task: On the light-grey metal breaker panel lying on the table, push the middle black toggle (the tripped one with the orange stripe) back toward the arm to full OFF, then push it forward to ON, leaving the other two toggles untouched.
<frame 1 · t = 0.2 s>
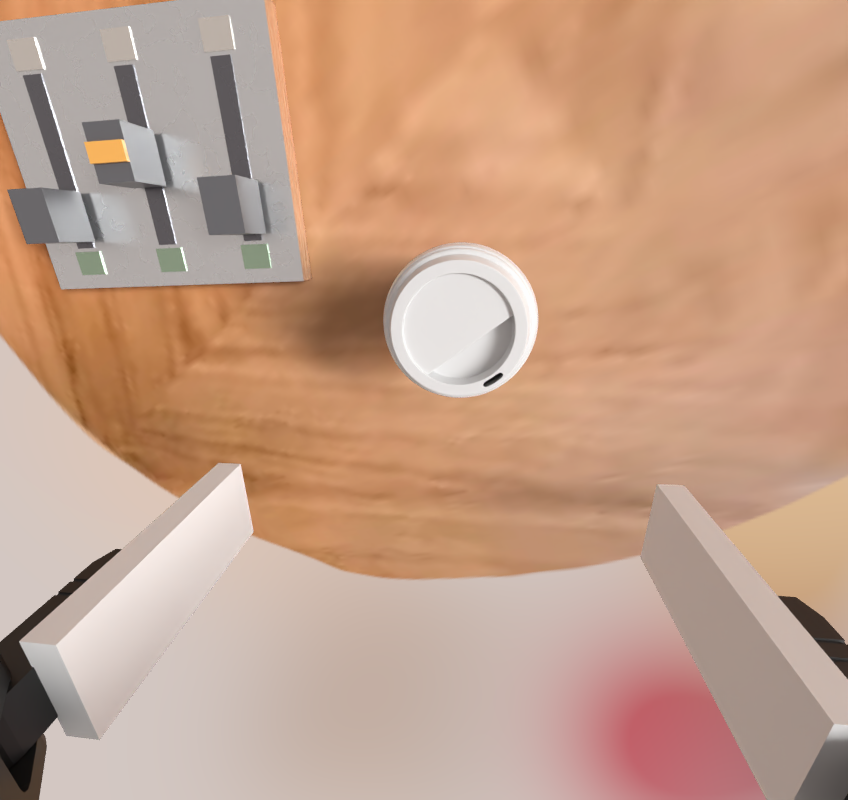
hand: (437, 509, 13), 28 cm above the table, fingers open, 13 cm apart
breaker 2: (125, 156, 33), point 4 cm above the table, slide at 0.0 cm
breaker 1: (233, 207, 33), point 4 cm above the table, slide at 4.0 cm
breaker 3: (54, 217, 35), point 4 cm above the table, slide at 4.0 cm
coffee cup: (463, 296, 38), on the table
panel: (164, 164, 37), on the table
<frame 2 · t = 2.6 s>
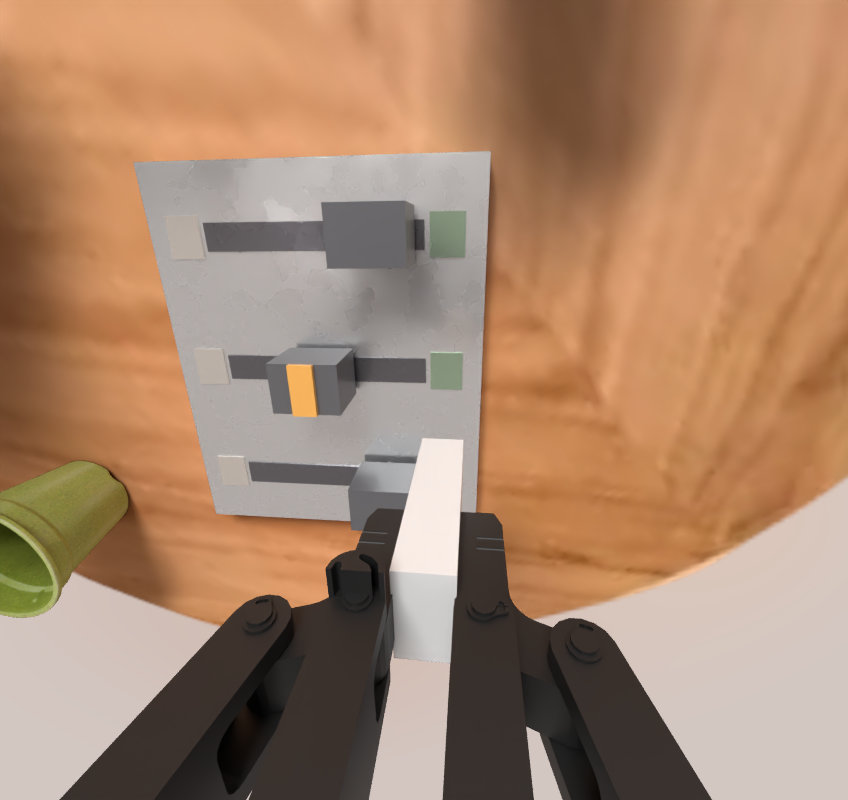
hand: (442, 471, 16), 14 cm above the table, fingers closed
breaker 2: (313, 380, 25), point 4 cm above the table, slide at 0.0 cm
breaker 1: (372, 235, 22), point 4 cm above the table, slide at 4.0 cm
breaker 3: (386, 495, 28), point 4 cm above the table, slide at 4.0 cm
plant pot: (97, 490, 36), on the table
panel: (335, 359, 29), on the table
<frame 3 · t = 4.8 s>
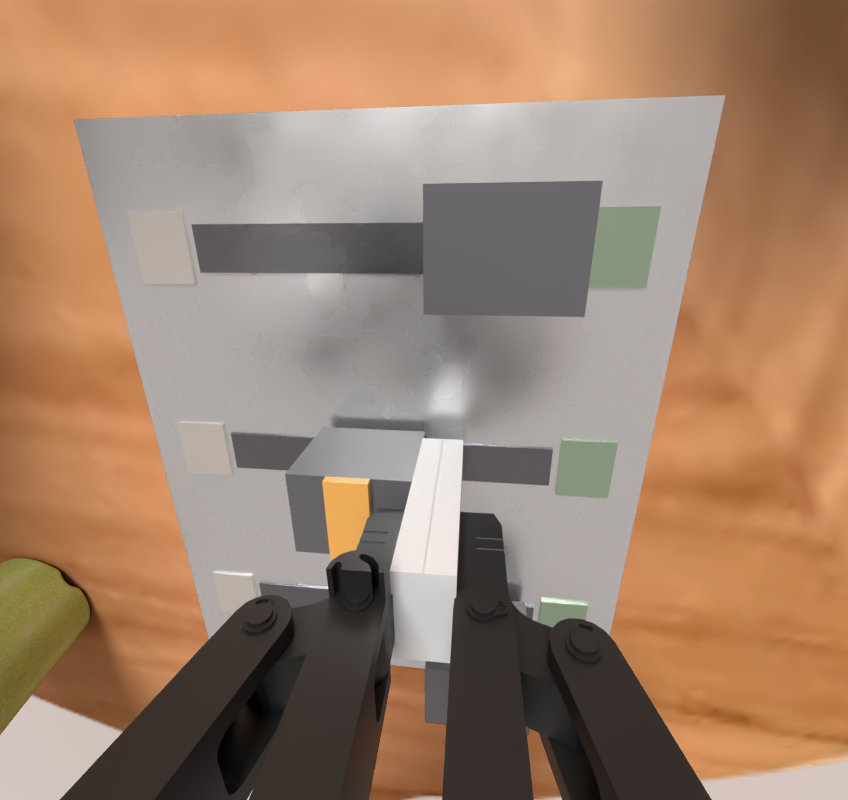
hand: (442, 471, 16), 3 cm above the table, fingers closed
breaker 2: (363, 490, 15), point 4 cm above the table, slide at -0.4 cm, touching gripper
breaker 1: (502, 250, 12), point 4 cm above the table, slide at 4.0 cm
breaker 3: (477, 659, 17), point 4 cm above the table, slide at 4.0 cm
plant pot: (48, 593, 26), on the table
panel: (395, 436, 19), on the table
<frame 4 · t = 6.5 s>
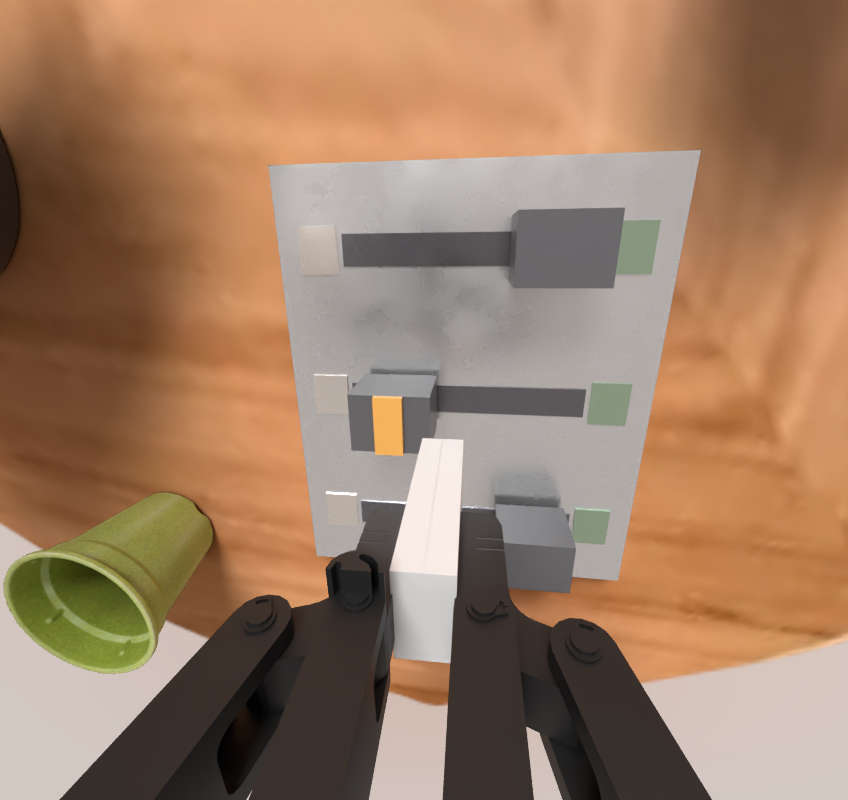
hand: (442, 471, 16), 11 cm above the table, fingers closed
breaker 2: (395, 412, 22), point 4 cm above the table, slide at -3.6 cm
breaker 1: (559, 249, 18), point 4 cm above the table, slide at 4.0 cm
breaker 3: (530, 546, 24), point 4 cm above the table, slide at 4.0 cm
plant pot: (179, 523, 33), on the table
panel: (466, 387, 26), on the table
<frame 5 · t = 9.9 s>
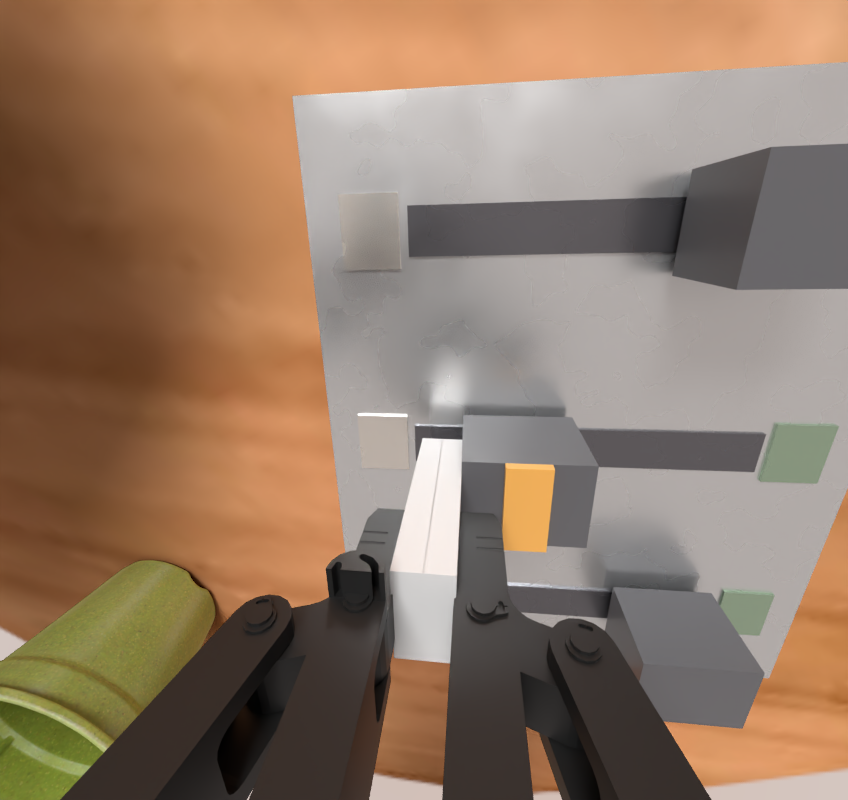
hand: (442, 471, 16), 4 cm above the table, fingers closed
breaker 2: (520, 478, 14), point 4 cm above the table, slide at -2.5 cm, touching gripper
breaker 1: (793, 221, 11), point 4 cm above the table, slide at 4.0 cm
breaker 3: (672, 652, 17), point 4 cm above the table, slide at 4.0 cm
plant pot: (170, 595, 25), on the table
panel: (568, 425, 18), on the table
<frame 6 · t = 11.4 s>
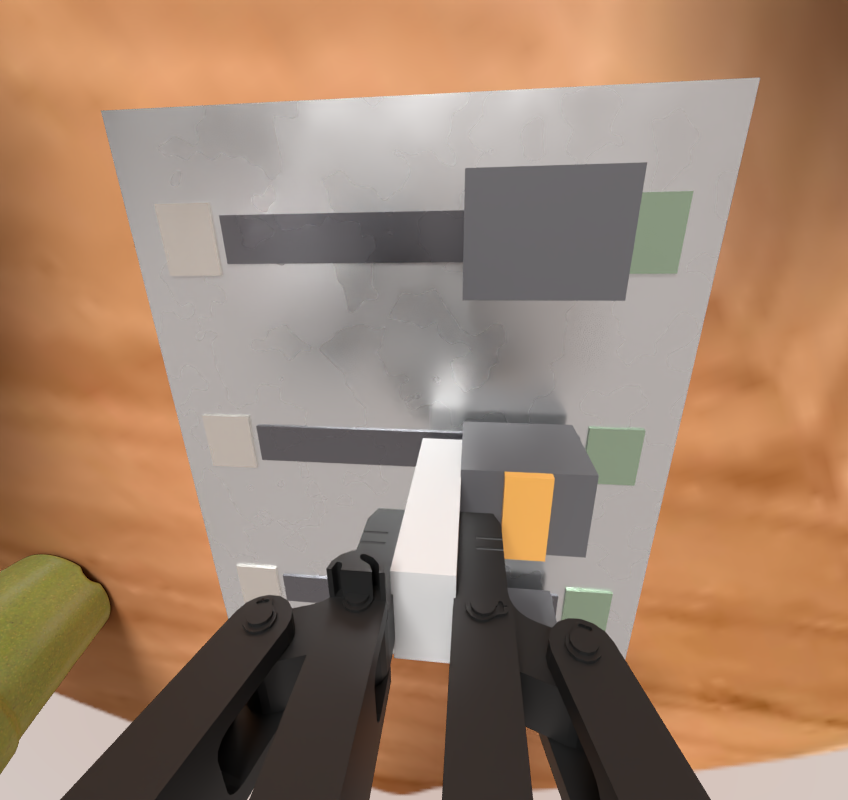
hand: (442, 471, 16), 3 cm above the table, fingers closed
breaker 2: (519, 485, 14), point 4 cm above the table, slide at 4.0 cm, touching gripper
breaker 1: (537, 236, 12), point 4 cm above the table, slide at 4.0 cm
breaker 3: (504, 647, 17), point 4 cm above the table, slide at 4.0 cm
plant pot: (68, 589, 26), on the table
panel: (418, 427, 19), on the table
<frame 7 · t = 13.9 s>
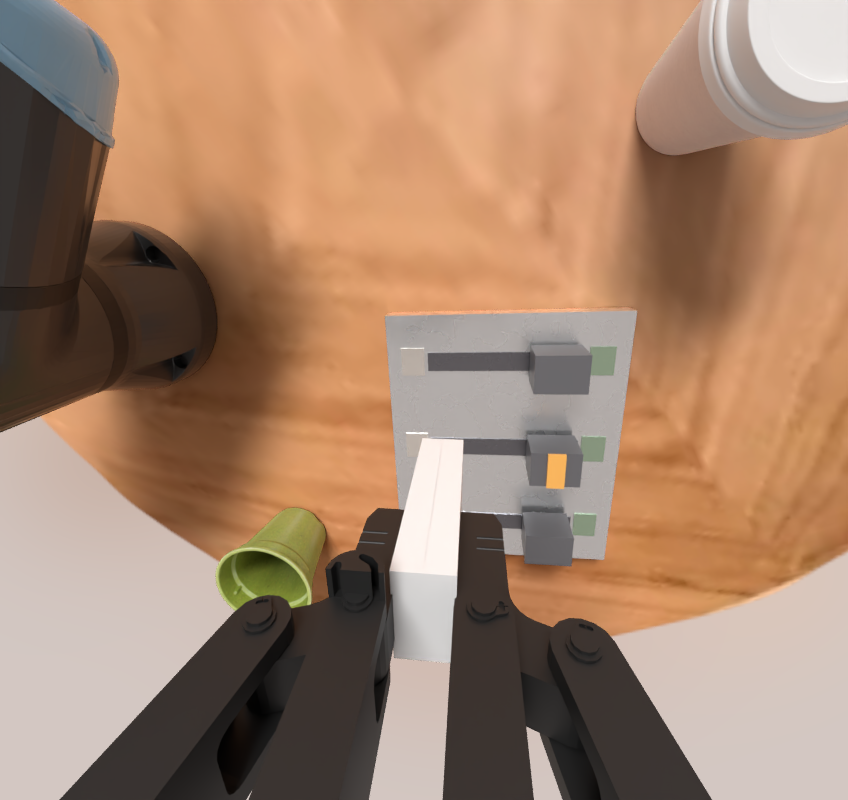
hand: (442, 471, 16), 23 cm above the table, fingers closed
breaker 2: (552, 460, 35), point 4 cm above the table, slide at 4.1 cm
breaker 1: (558, 368, 33), point 4 cm above the table, slide at 4.0 cm
breaker 3: (546, 537, 38), point 4 cm above the table, slide at 4.0 cm
plant pot: (301, 528, 47), on the table
coffee cup: (683, 103, 29), on the table
panel: (501, 437, 40), on the table
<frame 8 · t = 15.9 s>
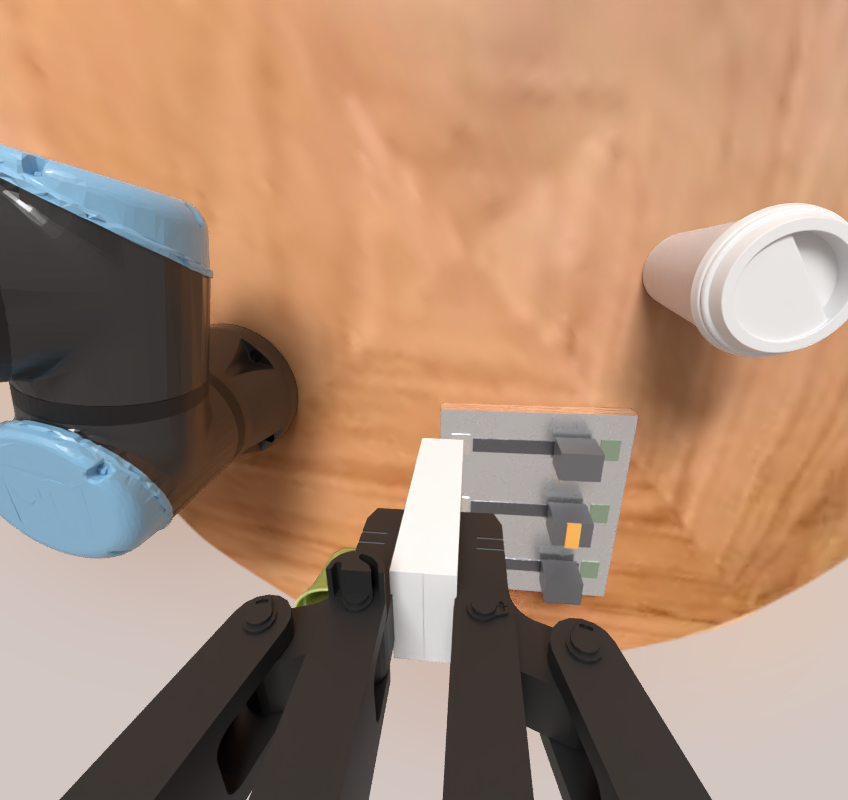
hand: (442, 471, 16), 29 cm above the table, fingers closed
breaker 2: (569, 525, 45), point 4 cm above the table, slide at 4.1 cm
breaker 1: (577, 459, 42), point 4 cm above the table, slide at 4.0 cm
breaker 3: (560, 581, 48), point 4 cm above the table, slide at 4.0 cm
plant pot: (352, 564, 57), on the table
coffee cup: (678, 269, 39), on the table
panel: (525, 499, 50), on the table
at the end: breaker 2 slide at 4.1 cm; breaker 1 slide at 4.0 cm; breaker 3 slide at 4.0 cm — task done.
